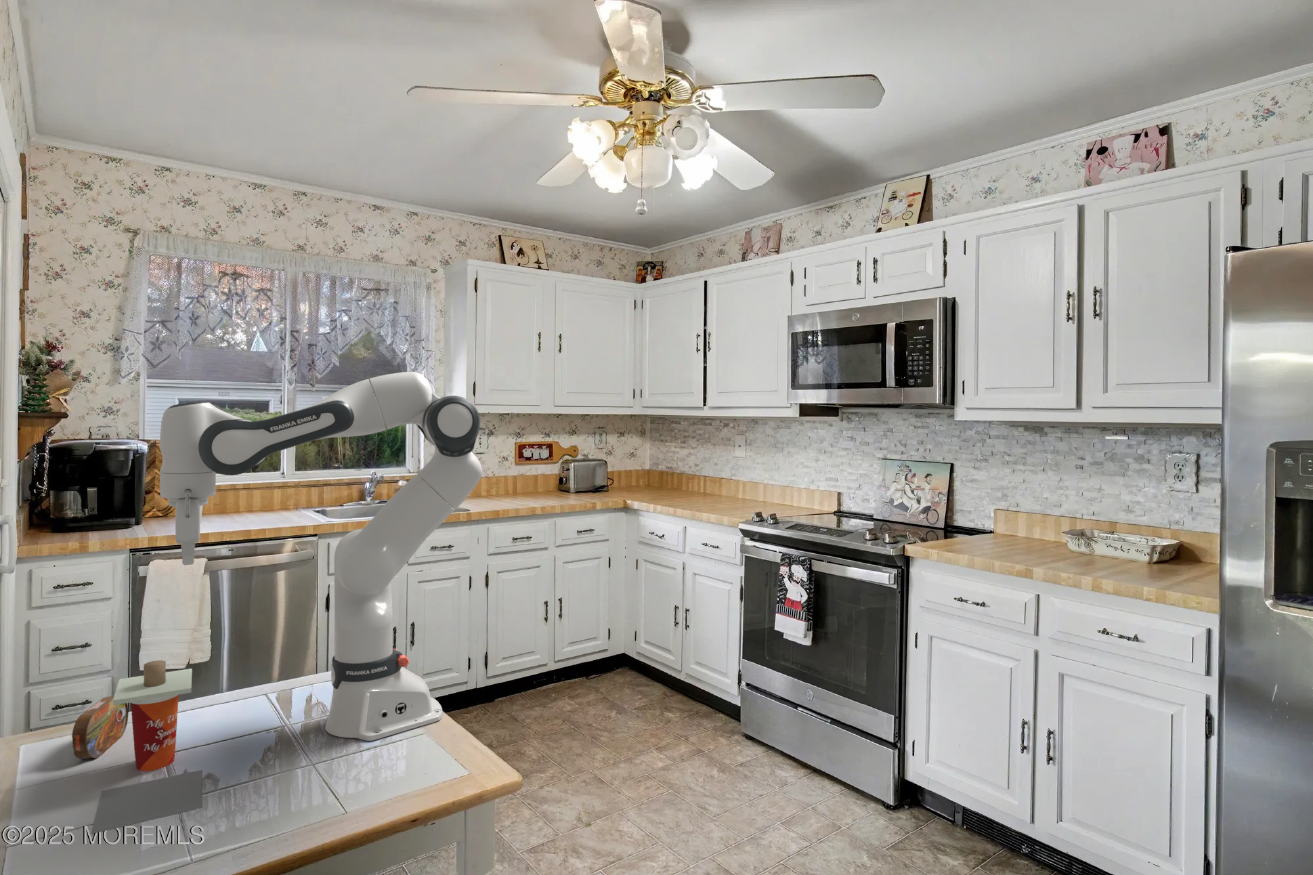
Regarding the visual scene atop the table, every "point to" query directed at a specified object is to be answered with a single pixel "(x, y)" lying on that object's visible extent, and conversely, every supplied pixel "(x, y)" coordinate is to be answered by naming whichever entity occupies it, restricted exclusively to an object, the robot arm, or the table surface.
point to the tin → (99, 728)
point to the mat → (148, 801)
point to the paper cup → (154, 732)
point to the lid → (153, 684)
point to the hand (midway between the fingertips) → (188, 559)
